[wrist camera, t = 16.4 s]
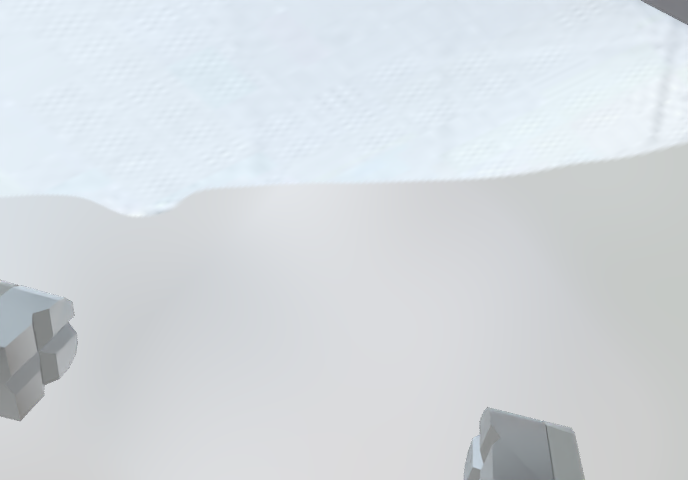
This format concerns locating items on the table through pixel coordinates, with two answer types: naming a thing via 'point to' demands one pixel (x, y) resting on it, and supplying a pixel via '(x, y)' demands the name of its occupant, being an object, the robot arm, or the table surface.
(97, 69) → the table surface
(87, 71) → the table surface
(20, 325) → the robot arm
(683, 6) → the mat
